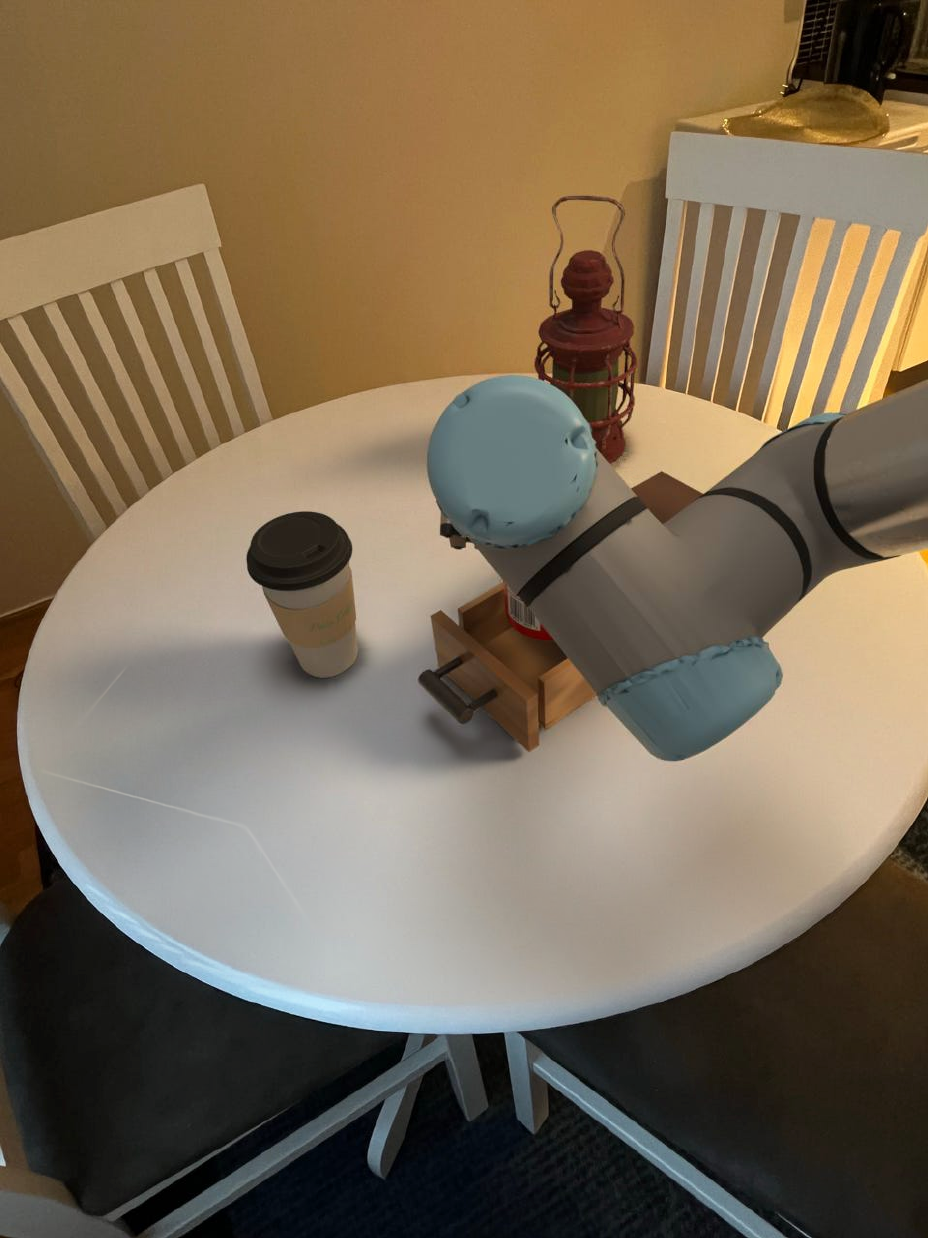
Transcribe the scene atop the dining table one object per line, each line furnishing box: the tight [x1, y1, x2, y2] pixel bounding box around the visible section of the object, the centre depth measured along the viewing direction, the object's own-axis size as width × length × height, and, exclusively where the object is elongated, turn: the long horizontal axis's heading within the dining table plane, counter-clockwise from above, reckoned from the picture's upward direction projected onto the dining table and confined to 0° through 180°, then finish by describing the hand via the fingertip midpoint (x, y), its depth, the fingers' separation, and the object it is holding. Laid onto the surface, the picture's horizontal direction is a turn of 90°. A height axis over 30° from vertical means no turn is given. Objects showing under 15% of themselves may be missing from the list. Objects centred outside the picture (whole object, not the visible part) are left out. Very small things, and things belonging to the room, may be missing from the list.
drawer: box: [417, 581, 598, 753], centre depth 75 cm, size 20×13×7 cm
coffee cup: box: [245, 510, 359, 679], centre depth 78 cm, size 9×9×15 cm
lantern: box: [533, 195, 638, 465], centre depth 96 cm, size 12×12×30 cm
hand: (550, 544), depth 73 cm, fingers closed on soda can, 8 cm apart
